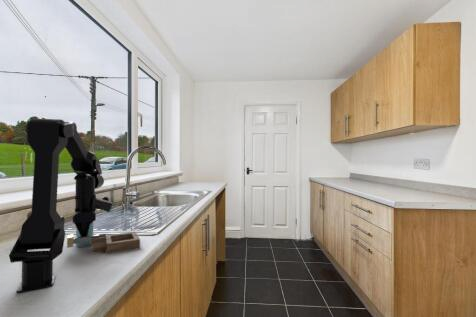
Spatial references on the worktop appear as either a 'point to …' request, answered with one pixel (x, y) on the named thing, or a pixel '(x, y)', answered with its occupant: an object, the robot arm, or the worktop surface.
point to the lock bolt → (79, 239)
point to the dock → (115, 242)
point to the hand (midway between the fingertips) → (84, 237)
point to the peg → (87, 235)
